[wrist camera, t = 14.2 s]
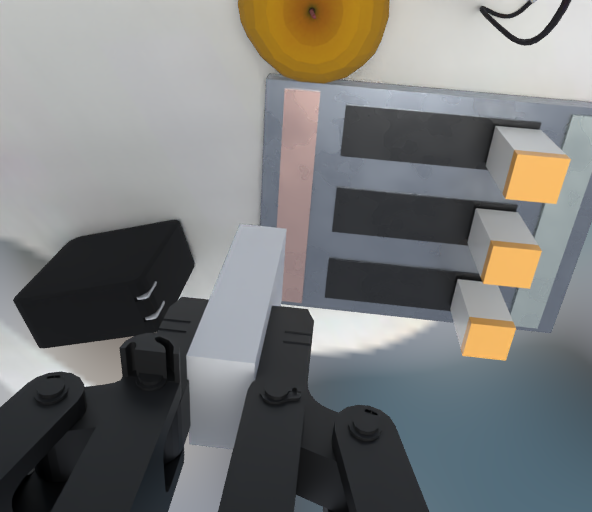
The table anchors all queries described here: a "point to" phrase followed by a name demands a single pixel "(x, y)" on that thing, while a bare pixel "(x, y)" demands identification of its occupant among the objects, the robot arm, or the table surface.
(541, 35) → the multimeter
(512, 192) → the breaker near
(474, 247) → the block
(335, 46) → the apple
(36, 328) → the electronic device
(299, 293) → the panel
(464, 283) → the breaker far
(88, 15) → the table surface
